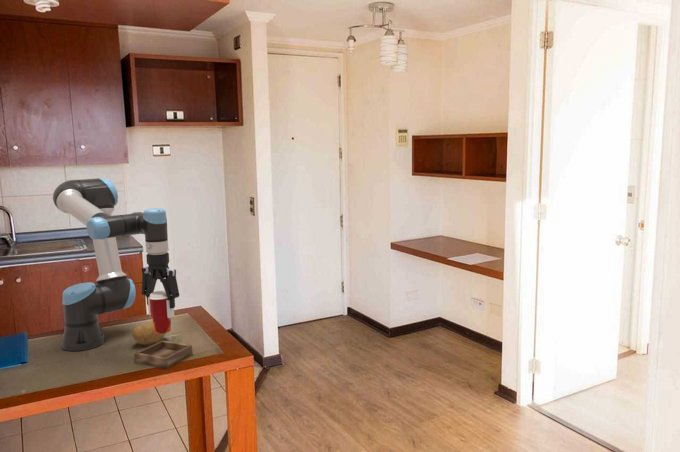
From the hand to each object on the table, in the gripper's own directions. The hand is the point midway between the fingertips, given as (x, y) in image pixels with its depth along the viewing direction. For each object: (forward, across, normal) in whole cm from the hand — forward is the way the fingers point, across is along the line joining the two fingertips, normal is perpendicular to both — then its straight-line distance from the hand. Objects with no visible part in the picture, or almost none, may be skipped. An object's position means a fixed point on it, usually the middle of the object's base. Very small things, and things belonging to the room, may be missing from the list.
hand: (161, 315), depth 194 cm
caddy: (+16, 0, 0) cm, 16 cm away
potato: (+16, -16, +11) cm, 25 cm away
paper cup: (+6, 0, 0) cm, 6 cm away
